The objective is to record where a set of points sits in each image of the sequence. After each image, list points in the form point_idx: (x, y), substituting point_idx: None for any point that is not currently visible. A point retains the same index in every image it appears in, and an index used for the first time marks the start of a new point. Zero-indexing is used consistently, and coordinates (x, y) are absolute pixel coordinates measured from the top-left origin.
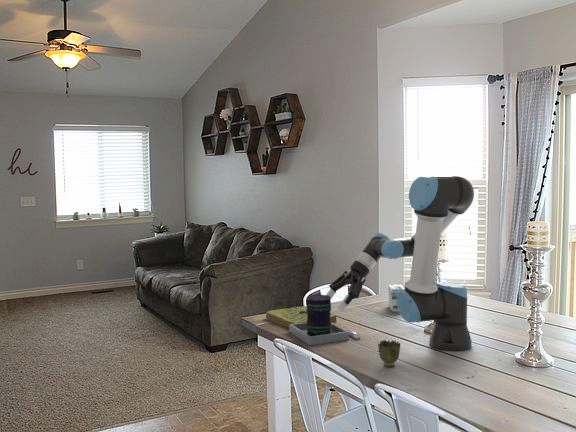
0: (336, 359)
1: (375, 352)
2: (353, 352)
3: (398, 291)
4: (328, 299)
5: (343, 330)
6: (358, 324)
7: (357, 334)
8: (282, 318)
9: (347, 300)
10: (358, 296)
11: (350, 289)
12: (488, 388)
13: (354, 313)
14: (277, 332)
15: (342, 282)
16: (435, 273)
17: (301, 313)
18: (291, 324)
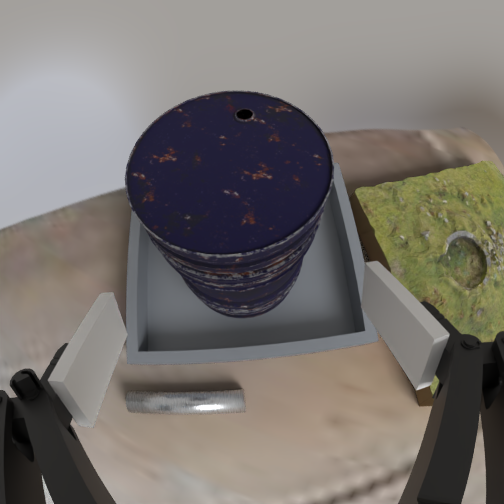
0: (18, 234)
1: (10, 365)
2: (30, 304)
3: None
4: (133, 211)
5: (160, 351)
6: (351, 488)
7: (133, 403)
8: (430, 175)
9: (55, 359)
10: (17, 444)
11: (51, 441)
12: None
13: (485, 485)
14: (333, 147)
15: (416, 488)
16: None
17: (476, 254)
18: (334, 169)
